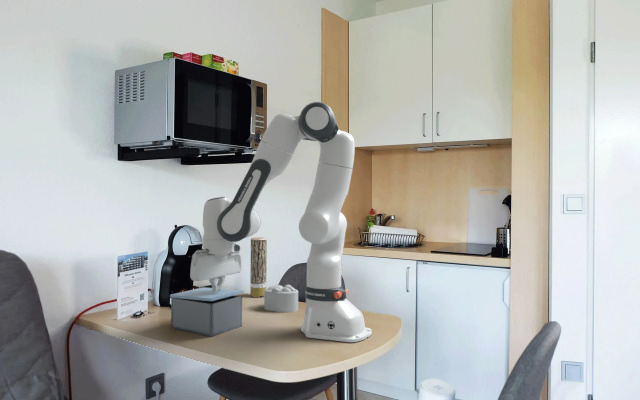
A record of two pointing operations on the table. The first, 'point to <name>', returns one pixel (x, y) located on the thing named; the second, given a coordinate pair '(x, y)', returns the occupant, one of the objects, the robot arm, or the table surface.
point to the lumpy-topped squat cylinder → (281, 299)
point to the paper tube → (258, 266)
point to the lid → (206, 294)
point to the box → (206, 315)
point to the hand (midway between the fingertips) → (217, 290)
